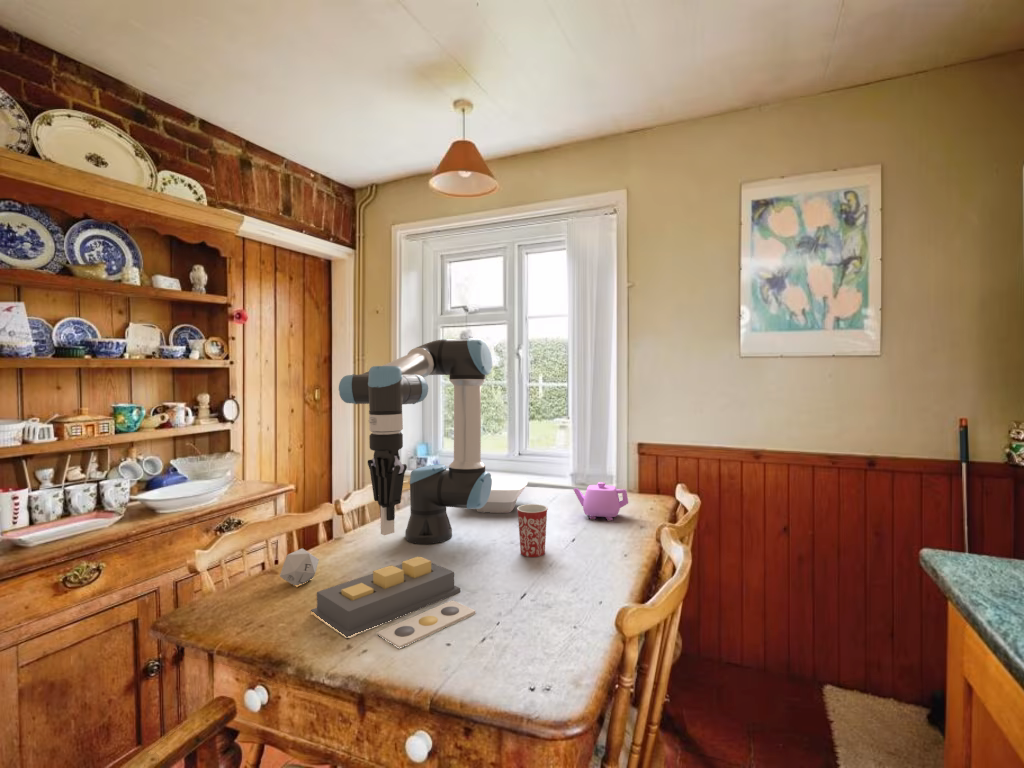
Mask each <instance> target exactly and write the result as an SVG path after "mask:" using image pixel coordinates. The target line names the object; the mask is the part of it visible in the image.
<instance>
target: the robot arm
mask: <svg viewBox="0 0 1024 768" xmlns="http://www.w3.org/2000/svg"><path fill="white" fill-rule="evenodd" d="M492 368H493V357H492V353H491V349H490V346H489V344H488V343H487V342H486V341H485V340H484V339H482V338H473V337H468V338H467V337H466V338H449V339H445V338H444V339H438V340H436V339H435V340H433V341H429V342H427V343H424V344H421V345H419V346H416V347H413V349H410V351H408V353H407V354H406V355H404V356H401V357H399V358H396V359H394V360H392V361H390V362H387V363H384V364H382V365H375V366H374V365H372V366H371V367H370V368H369V369H368V370H367V372H364V373H360V374H354V373H353V374H347V375H344V376H343V377H342V378H341V379H340V381H339V383H338V394H339V397H340V399H341V401H342V402H344V403H345V404H354V405H360V404H361V405H368V409H369V410H368V414H369V418H368V424H369V426H368V427H369V428H368V429H369V431H370V432H372V433H370V435H369V438H368V439H369V449H370V450H371V451H374V452H373V458H372V459H368V460H367V466H368V468H369V473H370V482H371V487H372V494H373V500H374V501H375V502H377V503H378V506H379V507H380V508H379V513H380V514H379V516H380V535H383V536H387V535H390V534H394V533H395V517H396V516H395V515H396V514H395V509H396V508H395V506H397V505H399V504H401V503H402V494H403V486H404V479H405V473H406V471H407V468H408V467H407V464H405V463H404V464H402V462H401V461H400V460H401V457H400V453H399V451H400V450H401V449H403V447H404V440H403V438H404V436H403V435H404V434H403V433H402V430H403V429H404V424H403V421H404V419H403V405H415V404H418V403H420V402H422V401H424V400H425V399H426V398H427V395H428V393H429V385H428V381H427V379H425V377H428V376H449V379H448V380H449V382H450V383H451V384H452V386H453V461H452V462H451V463H450V464H449V465H448V469H447V466H446V465H445V464H432V465H431V464H430V465H425V466H424V465H423V466H421V467H417V468H414V469H413V470H411V472H410V475H409V495H410V496H409V499H410V500H409V503H410V505H409V506H410V513H409V514H410V515H409V518H408V522H407V525H406V529H405V532H404V533H405V537H404V538H405V540H406V541H407V542H409V543H412V544H417V545H419V544H420V545H421V544H422V545H431V544H437V543H442V542H443V543H444V542H445V541H448V540H449V539H451V538H452V537H453V528H452V525H451V522H450V518H449V516H448V512H447V508H456V509H457V508H458V509H459V508H460V509H467V510H472V509H473V510H477V509H480V508H482V507H483V506H484V505H485V504H486V503H487V501H488V498H489V496H490V492H491V487H492V478H491V477H492V474H491V473H490V472H488V471H486V464H485V463H483V461H482V458H481V457H482V456H481V455H482V451H481V447H482V445H481V443H482V442H481V441H482V439H481V438H482V437H481V436H482V435H481V431H482V429H481V426H482V425H481V423H482V420H481V419H482V417H481V415H482V413H481V412H482V405H481V404H482V402H481V401H482V399H481V398H482V392H481V391H482V385H483V384H484V383H485V382H486V376H488V375H490V374H491V373H492Z"/></svg>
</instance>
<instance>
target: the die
mask: <svg viewBox="0 0 1024 768" xmlns="http://www.w3.org/2000/svg"><path fill="white" fill-rule="evenodd" d="M319 561H320V559H319V558H318V557H317V556H315V555H313V554H312V553H311V552H309V551H307V550H306V549H304V548H303V547H302V548H300V549H298V550H295V551H293V552H291V553H288V554H286V556H285V560H284V562H283V565H282V568H281V571H280V574H279V577H280V578H282V579H283V580H285V581H286V582H288V583H289V584H290V585H292V584H293V585H292V586H294V585H299V584H303V583H305V582H307V581H309V580H310V579H312V578H313V579H314V577H315V575H316V572H317V568H318V565H319ZM313 579H312V580H313ZM309 582H310V581H309ZM307 583H308V582H307ZM305 584H306V583H305ZM303 585H304V584H303Z"/></svg>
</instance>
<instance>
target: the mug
mask: <svg viewBox="0 0 1024 768" xmlns="http://www.w3.org/2000/svg"><path fill="white" fill-rule="evenodd" d="M548 510H549V508H548V506H545V505H543V504H536V503H535V504H534V503H529V504H528V503H527V504H523V505H518V507H516V511H517V517H518V519H517V522H518V532H519V533H518V534H519V546H520V547H519V549H520V550H519V551H520V554H521V555H522V556H524V557H527V558H538V557H539V558H540V557H542V556H544V555H545V553H546V538H547V537H546V536H547V521H548V520H547V518H548V516H547V515H548Z"/></svg>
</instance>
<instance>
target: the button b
mask: <svg viewBox="0 0 1024 768" xmlns="http://www.w3.org/2000/svg"><path fill="white" fill-rule="evenodd" d="M395 566H396V565H395ZM395 566H394V565H393V564H391V565H388V566H385V567H382V568H379V569H376V570H373V571H372V574H373V583H374V584H376V585H378V586H379V587H381V588H383V589H386V588H389V587H392V586H395V585H397V584H400V583H403V582H404V570H401V569H399V568H397V567H395Z"/></svg>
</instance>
